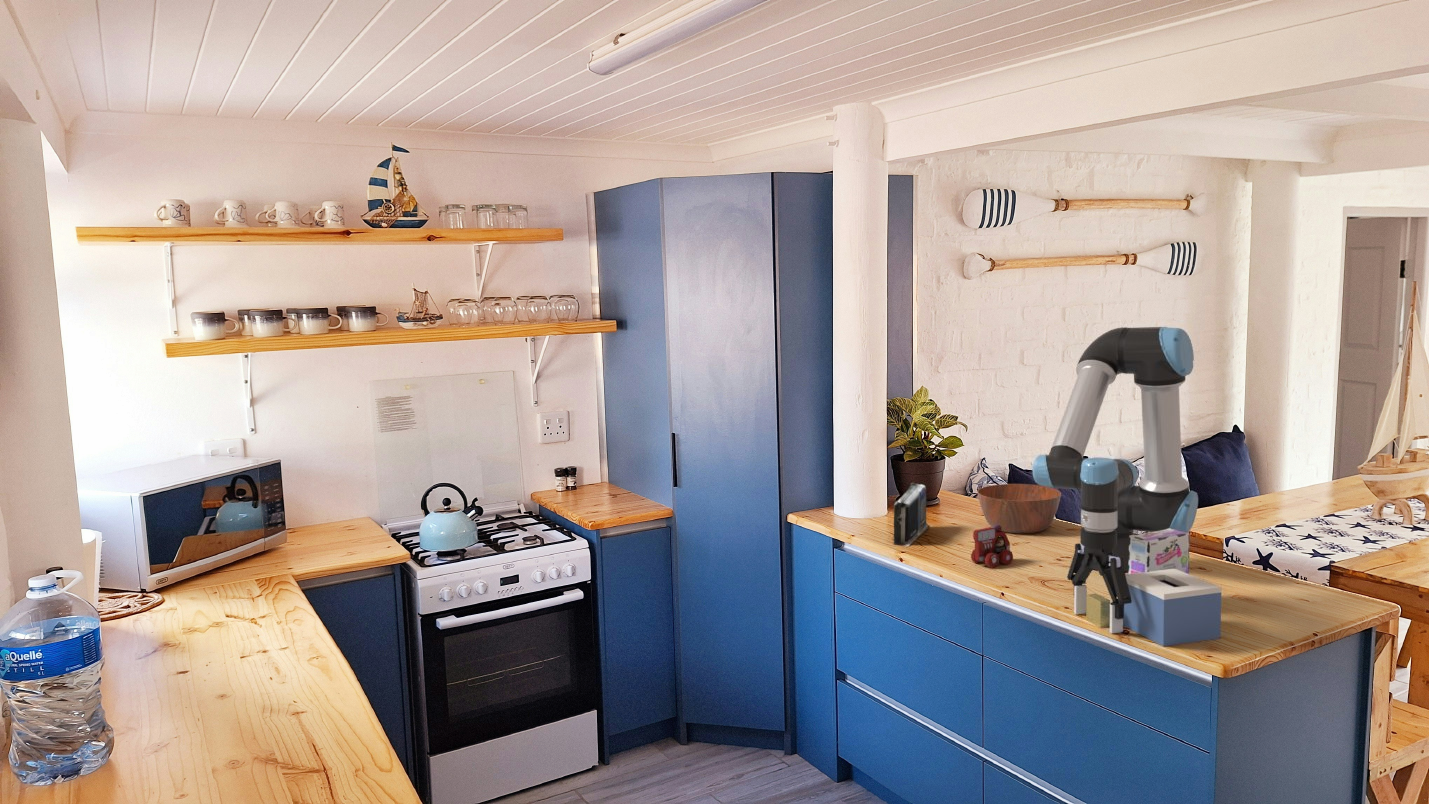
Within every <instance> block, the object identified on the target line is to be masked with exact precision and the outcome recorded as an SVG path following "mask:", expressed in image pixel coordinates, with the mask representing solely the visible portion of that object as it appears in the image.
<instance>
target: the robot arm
mask: <svg viewBox="0 0 1429 804" xmlns="http://www.w3.org/2000/svg"><path fill="white" fill-rule="evenodd" d="M1194 356H1195V355H1194V348H1193V344H1192V340H1191V337H1190V335H1188V333H1187V331H1185V330H1184V329H1182V328H1180V327H1168V326H1151V327H1149V326H1148V327H1145V326H1144V327H1141V326H1140V327H1126V326H1125V327H1117V328H1112V329H1110V330H1108V331H1106V332H1104V333H1102V334H1100V335H1099V336H1098V337H1096V338H1095V339H1094V340H1093V341H1092V343H1090V344H1089V346H1088V347H1086V349H1085V350H1084V351H1083V353H1082V354H1081V356H1080V358H1079V359H1078V363H1077V366H1076V368H1075V372H1076V374H1077V377H1076V380H1075V382H1074V386H1073V389H1072V391H1071V394H1070V396H1069V399H1068V401H1067V405H1066V407H1065V410H1064V413H1063V416H1062V418H1061V421H1060V424H1059V426H1058V429H1057V432H1056V435H1055V437H1054V440H1053V443H1052V445H1051V448H1050V450H1049V453H1048V454H1039V455H1038V456H1037V457H1035V459H1034V461H1033V465H1032V477H1033V480H1034V481H1035V482H1034V483H1036V485H1039V486H1045V487H1050V488H1054V489H1064V490H1065V489H1066V490H1075V491H1080V526H1081V529H1080V534H1079V535H1080V539H1079V540H1080V543H1075V544H1074V553H1073V557H1072V561H1071V563H1070V566H1069V570H1068V572H1067V576H1066V578H1067V580H1068V581H1071V582H1072V585H1073V598H1074V600H1073V604H1074V605H1073V613H1074V614H1075V615H1081V614H1083V615H1084V614H1086V612H1087V595H1088V594H1087V591H1088V589H1087V586H1088V585H1086V584H1087V580H1088V578H1089V576H1090V574H1091V573H1092V571H1093V570H1094V571H1097V572H1098V574H1099V575H1100V576H1102V578H1103V579H1102V580H1103V581H1104V583H1105V587H1106V589H1107V591H1108V594H1109V597H1110V599H1111V601H1110V627H1109V633H1111V634H1118V633H1123V632H1124V626H1123V618H1124V605H1125V604H1129V603H1131V602H1132V600H1131V596H1130V592H1129V588H1128V583H1127V579H1126V572H1127V573H1128V566H1129V536H1130V535H1134V531H1140V532H1141V531H1142V532H1145V533H1149V532H1155V531H1161V530H1166V529H1169V528H1170V529H1174V530H1179V531H1182V532H1186V533H1189V532H1190V531H1191V529H1192V528H1193V525H1194V523H1195V520H1196V517H1197V511H1198V505H1199V496H1198V493H1197V492H1196V491H1194V490H1190V482H1189V481H1188V480H1187V479H1186V478H1185V477H1183V467H1182V440H1181V439H1182V438H1181V437H1182V436H1181V434H1182V432H1181V410H1180V406H1181V405H1180V387H1181V386H1182V385H1183V384H1185V382H1186V376H1189V375H1191V373H1193V369H1194V361H1195V359H1194V358H1195V357H1194ZM1120 374H1125V375H1133V383H1134V384H1135V385H1136V386H1138V387H1139V388H1140V393H1141V394H1140V395H1141V416H1142V417H1141V418H1142V436H1143V437H1142V438H1143V459H1144V461H1143V463H1144V477H1143V478H1142V479H1141V480H1140V481H1138V478H1139V475H1138V474H1139V472H1138V470H1137V468H1136V466H1135V465H1134V464H1133V463H1132V462H1131V461H1129V460H1128V459H1126V458H1125V459H1124V458H1108V457H1088V458H1084V455H1085V452H1086V449H1087V447H1088V444H1089V441H1090V439H1091V435H1092V432H1093V430H1094V427H1095V425H1096V422H1097V419H1098V416H1099V413H1100V411H1101V408H1102V405H1103V402H1104V399H1105V396H1106V394H1107V391H1108V388H1109V385H1112V384H1113V383H1114V382H1115V381H1116V379H1117V376H1118V375H1120ZM1137 481H1138V485H1136V484H1137ZM1125 597H1126V598H1125Z"/></svg>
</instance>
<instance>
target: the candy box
mask: <svg viewBox="0 0 1429 804" xmlns="http://www.w3.org/2000/svg"><path fill="white" fill-rule="evenodd" d="M1167 569H1177V570H1179V571H1182V572H1185V573H1187V574H1190V533H1189V532H1188V533H1186V532H1182V531H1179V530H1174V529H1170V528H1169V529H1166V530H1161V531H1155V532H1144V533H1139V534H1133V535H1130V536H1129V566H1128V571H1127V574H1134V573H1142V572H1150V571H1158V570H1167Z"/></svg>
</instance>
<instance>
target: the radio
mask: <svg viewBox="0 0 1429 804" xmlns="http://www.w3.org/2000/svg"><path fill="white" fill-rule="evenodd" d="M930 527H931V526H930V524H928V522H927V487H926V485H925V484H922V483H920V484H919V483H916V482H912V483H910V486H909V487H908V489H907V490H906V491H905V492H904V493H903V495H901V497H900V498H899V499H898V500H896V501H895V502H894V504H893V537H892V540H893V542H892V543H891V544H892V545H894V546H900V547H907V548H909V547H910V546H911V545H913V543H915V542H916V540H918V539H919V538H920V537H921V536H922V535H923V534H925V533H926V532H927V531H928V530H929V529H930Z"/></svg>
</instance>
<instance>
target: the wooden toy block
mask: <svg viewBox="0 0 1429 804" xmlns="http://www.w3.org/2000/svg"><path fill="white" fill-rule="evenodd" d="M1110 603H1111V600H1110V599H1108V598H1106V597H1105V596H1102V595H1100V594H1098V593H1089V594H1087V612H1086V613H1085V614H1086V617H1085V619H1086V621H1088V622H1089V623H1091V624H1092V625H1095V626H1097V627H1098V628H1101V629H1102V628H1110Z"/></svg>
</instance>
